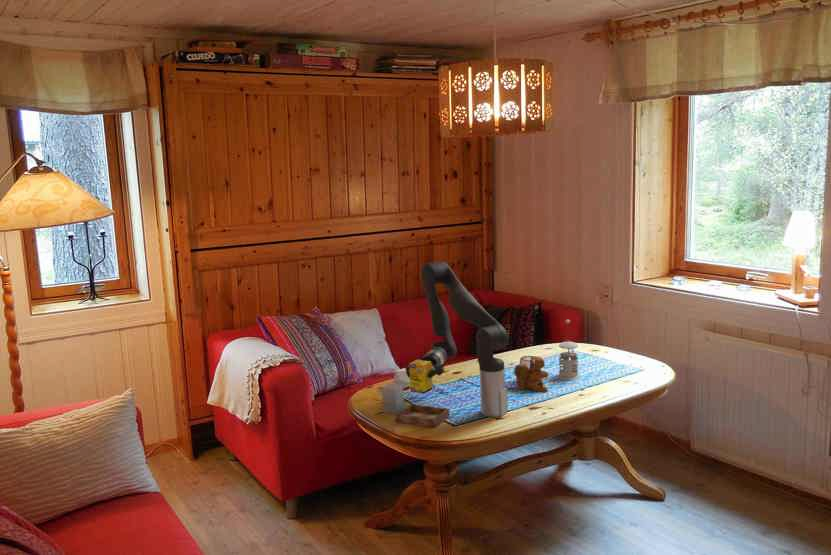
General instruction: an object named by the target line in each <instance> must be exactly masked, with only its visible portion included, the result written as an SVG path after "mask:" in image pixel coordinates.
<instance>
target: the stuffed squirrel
mask: <svg viewBox="0 0 831 555" xmlns="http://www.w3.org/2000/svg"><path fill="white" fill-rule="evenodd" d="M545 363H546V361H545V360H544V359H543V358H542V357H539V356H530V361H529V368H528V366H527V364H525V363H523V364H516V365H515V367H514V371H513V374H514V376H515V379H516V386H517V387H518V388H519V389H520V390H523V391H524V390H530V391H533V392H539V393H540V392H541V393H542V392H543V393H544V392H545V393H546V392H548V390H549V389H548V387H547V386H545V382H544V379H546V378H547V379H548V377H549V373H548V372H547V371H546V370H543V368H546V365H545Z"/></svg>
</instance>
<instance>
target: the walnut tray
mask: <svg viewBox="0 0 831 555" xmlns="http://www.w3.org/2000/svg"><path fill="white" fill-rule="evenodd" d="M395 416H396V423H399V424H405V425H406V424H407V425H413V426H419V427H426V428H433V429H434V428H435V429H436V428H437V427H438V426H440V425H441V424H442V423H443V422H445V421H446V420H448V419H449V418H450V417H449V416H450V408H446V407H438V406H431V405H423V404H417V403H416V404H415V403H410V404H409V405H408V406H407V407H404V409H403V410H402V411H400V412H399V413H398V414H395Z"/></svg>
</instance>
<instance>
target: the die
mask: <svg viewBox="0 0 831 555" xmlns="http://www.w3.org/2000/svg"><path fill="white" fill-rule="evenodd" d="M392 383H394V384H403V390H405V389H407V388H411V386H410V377H408V376H407V374H406V367H403V368H401V369H398V370H396V371H395V372H394V377H393V380H392Z"/></svg>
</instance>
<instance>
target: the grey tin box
mask: <svg viewBox="0 0 831 555" xmlns="http://www.w3.org/2000/svg"><path fill="white" fill-rule="evenodd" d="M381 398H382V399H381V401H382V413H383V414H390V415H391V414H392V415H396V414H398V413H399V412H400V411H402V410H403V409H405V398H404V389H403V384H394V383H393V382H392V383H391V382H388V383H387V384H385V385H384V386H382V387H381Z"/></svg>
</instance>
